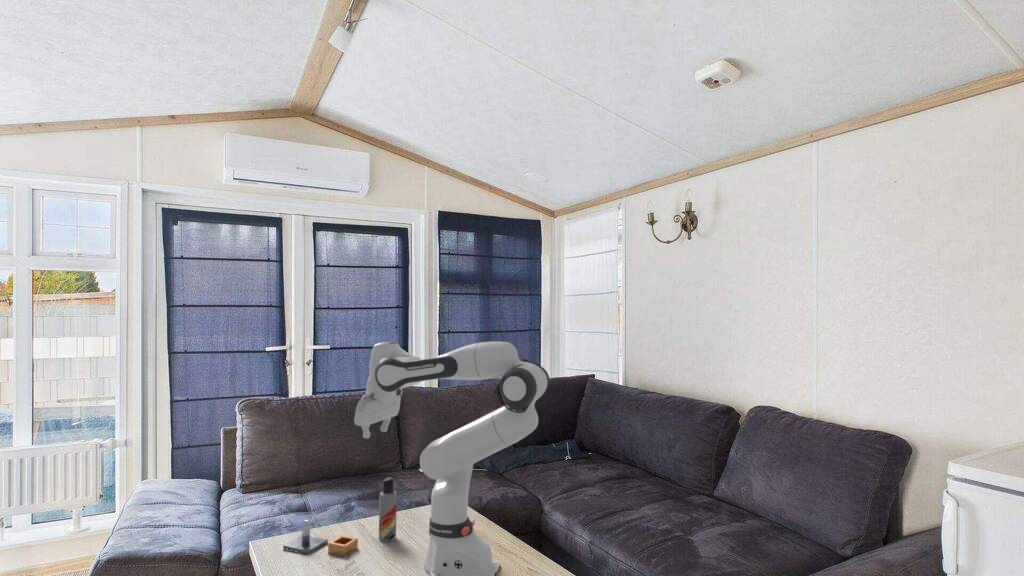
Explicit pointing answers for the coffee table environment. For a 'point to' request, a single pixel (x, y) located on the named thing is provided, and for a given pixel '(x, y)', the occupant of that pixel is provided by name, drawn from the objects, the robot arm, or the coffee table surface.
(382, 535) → the lotion bottle
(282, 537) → the coffee table surface
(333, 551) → the wooden square frame
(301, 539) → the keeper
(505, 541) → the coffee table surface
